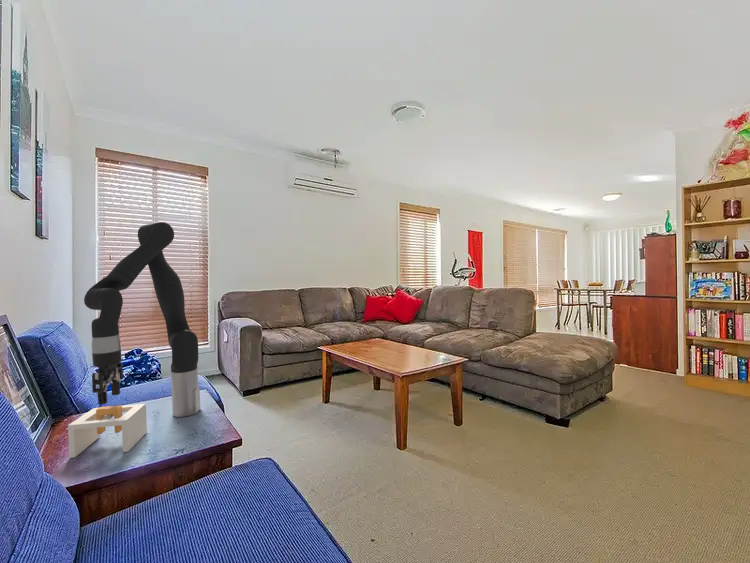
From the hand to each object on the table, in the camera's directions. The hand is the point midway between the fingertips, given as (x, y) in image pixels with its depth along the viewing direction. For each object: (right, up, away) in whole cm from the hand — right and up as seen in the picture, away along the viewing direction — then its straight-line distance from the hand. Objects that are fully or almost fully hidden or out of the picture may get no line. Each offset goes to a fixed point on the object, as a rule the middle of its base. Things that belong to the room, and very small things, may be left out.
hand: (109, 399), depth 118 cm
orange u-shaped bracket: (0, -11, 0) cm, 11 cm away
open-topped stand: (0, -15, +1) cm, 15 cm away
